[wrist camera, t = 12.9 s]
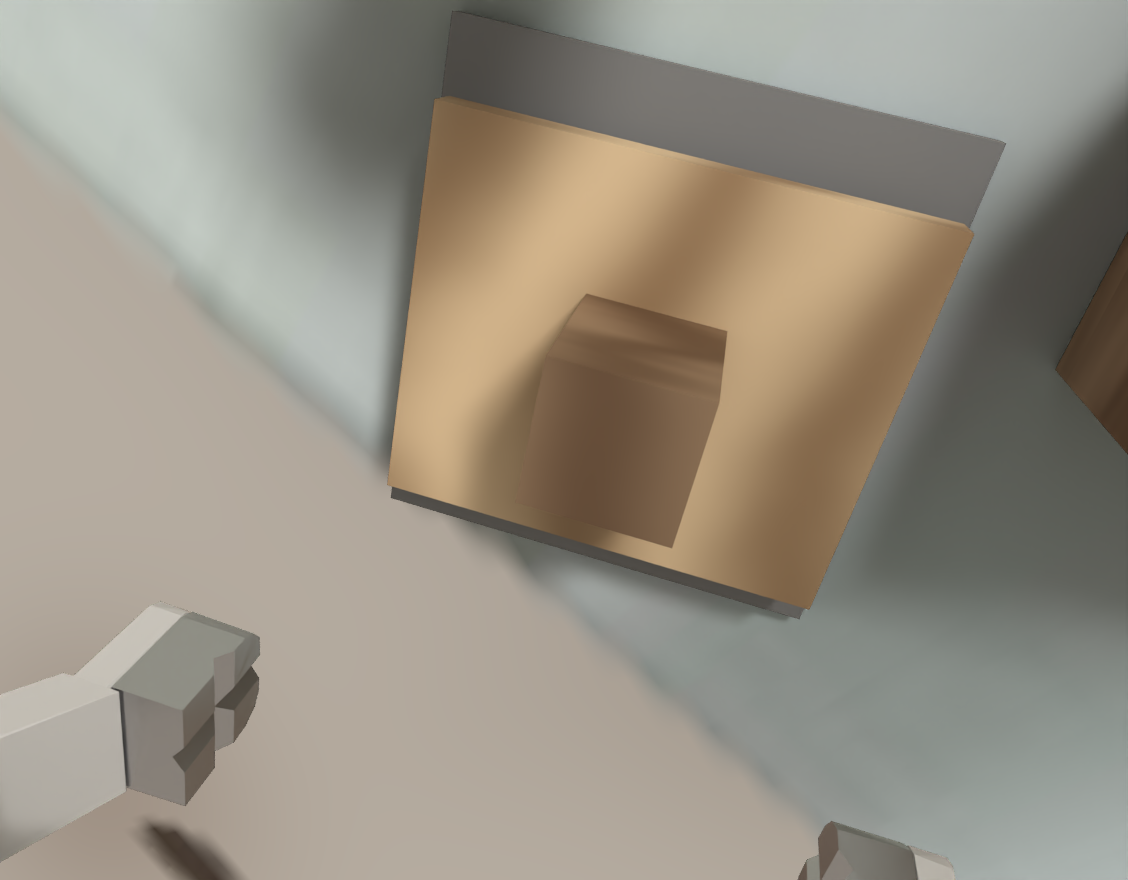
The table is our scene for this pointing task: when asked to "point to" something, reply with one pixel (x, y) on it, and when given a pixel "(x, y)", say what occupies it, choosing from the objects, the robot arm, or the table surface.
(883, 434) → the lid
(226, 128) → the table surface
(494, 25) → the mat
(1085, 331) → the storage box
